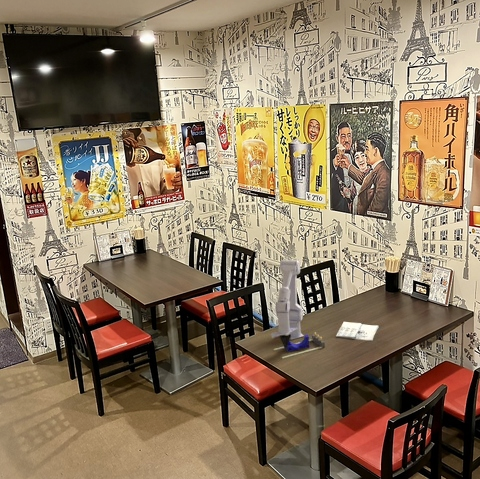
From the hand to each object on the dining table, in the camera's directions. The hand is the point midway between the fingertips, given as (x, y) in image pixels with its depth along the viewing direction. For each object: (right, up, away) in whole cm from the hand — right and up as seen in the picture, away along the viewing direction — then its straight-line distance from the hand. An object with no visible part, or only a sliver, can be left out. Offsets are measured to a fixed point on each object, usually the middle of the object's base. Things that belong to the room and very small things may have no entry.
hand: (285, 347), depth 257 cm
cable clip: (+7, -2, +4) cm, 8 cm away
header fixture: (+8, -1, +3) cm, 8 cm away
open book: (+42, +4, +16) cm, 45 cm away
